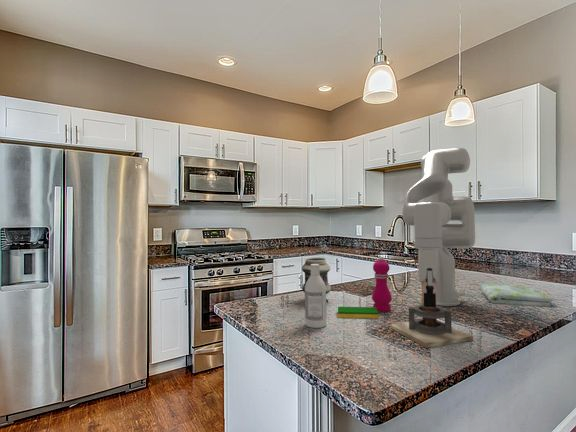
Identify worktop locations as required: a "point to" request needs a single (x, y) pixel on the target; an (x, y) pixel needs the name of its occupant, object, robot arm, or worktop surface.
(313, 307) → the bath foam
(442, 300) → the robot arm
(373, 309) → the dish sponge
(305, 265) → the apothecary jar
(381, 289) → the pepper mill
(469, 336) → the collar stand
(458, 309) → the worktop surface
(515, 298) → the towel
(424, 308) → the tan cylinder
